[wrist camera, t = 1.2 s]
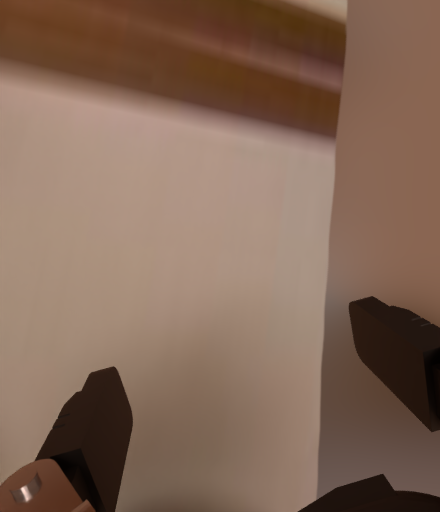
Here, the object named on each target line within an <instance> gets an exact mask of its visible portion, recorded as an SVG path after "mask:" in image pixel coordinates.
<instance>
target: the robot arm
mask: <svg viewBox="0 0 440 512" xmlns="http://www.w3.org/2000/svg"><path fill="white" fill-rule="evenodd" d="M349 314H350V320H351V326H352V332H353V338H354V344H355V348H356V351H357V353H358V356H359V357H360V359H361V360H362V362H363V363H364V364H365V365H366V366H367V367H368V368H369V369H370V370H371V371H372V372H373V373H374V374H375V375H376V376H377V377H378V378H379V379H380V380H381V381H382V382H383V383H384V384H385V385H386V386H387V387H388V388H389V389H390V390H391V391H392V392H393V393H394V394H395V395H396V396H397V398H399V400H400V401H401V402H402V403H403V404H404V405H405V406H406V407H408V409H409V410H410V411H411V412H412V413H413V414H414V415H415V416H416V417H417V418H418V419H419V420H420V421H421V422H422V423H423V424H424V425H425V426H426V427H427V428H428V429H429V430H430V431H431V432H434V431H437V430H440V328H439V327H438V326H436V325H434V324H431V323H430V322H429V321H427V320H425V319H424V318H421V317H420V316H418V315H417V314H415V313H413V312H412V311H410V310H407V309H404V308H400V307H396V306H388V305H386V304H385V303H383V302H381V301H380V300H378V299H377V298H375V297H373V296H371V297H367V298H363V299H360V300H356V301H352V302H350V303H349ZM132 426H133V418H132V411H131V407H130V404H129V401H128V398H127V395H126V393H125V390H124V387H123V384H122V381H121V378H120V376H119V373H118V371H117V369H116V368H115V367H114V366H113V367H109V368H106V369H102V370H98V371H95V372H91V373H90V374H89V376H88V378H87V380H86V382H85V384H84V386H83V389H82V391H80V392H76V393H75V394H74V395H73V396H72V397H71V398H70V399H69V400H68V401H67V402H66V403H65V404H64V406H63V408H62V410H61V412H60V414H59V416H58V419H56V421H55V423H54V425H53V427H52V428H53V429H52V430H51V431H50V433H49V434H48V436H47V438H46V440H45V442H44V444H43V446H42V448H41V450H40V451H39V453H38V455H37V457H36V459H35V461H34V462H32V463H29V464H27V465H26V466H24V467H22V468H20V469H19V470H17V471H16V472H15V473H13V474H12V475H11V476H10V477H8V478H7V479H6V480H5V481H4V482H3V483H2V484H1V486H0V512H115V509H116V504H117V499H118V494H119V489H120V485H121V480H122V475H123V470H124V465H125V460H126V456H127V451H128V446H129V441H130V436H131V431H132ZM298 512H440V497H437V496H433V495H430V494H424V493H419V492H412V491H394V489H393V488H392V486H391V485H390V483H389V482H388V480H387V479H386V477H385V476H384V475H383V474H380V475H377V476H374V477H371V478H367V479H364V480H361V481H357V482H354V483H350V484H347V485H344V486H341V487H337V488H335V489H334V490H332V491H330V492H329V493H327V494H326V495H324V496H323V497H321V498H319V499H318V500H316V501H314V502H313V503H311V504H309V505H308V506H306V507H305V508H303V509H301V510H300V511H298Z"/></svg>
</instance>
